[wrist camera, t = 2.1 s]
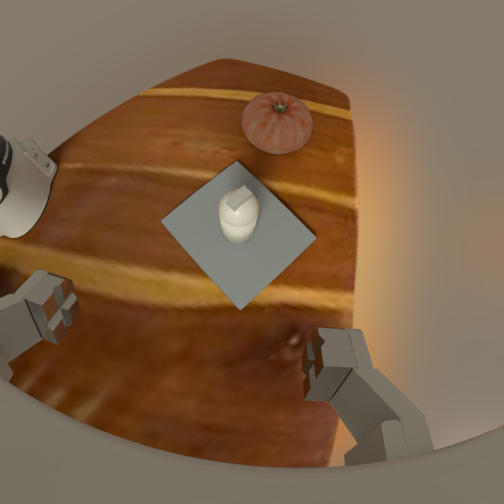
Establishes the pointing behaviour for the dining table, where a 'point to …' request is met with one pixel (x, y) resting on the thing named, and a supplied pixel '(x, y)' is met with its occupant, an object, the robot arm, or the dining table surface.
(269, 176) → the dining table surface
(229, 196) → the white rounded bottle
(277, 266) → the grey pad
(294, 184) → the dining table surface
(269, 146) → the tomato
